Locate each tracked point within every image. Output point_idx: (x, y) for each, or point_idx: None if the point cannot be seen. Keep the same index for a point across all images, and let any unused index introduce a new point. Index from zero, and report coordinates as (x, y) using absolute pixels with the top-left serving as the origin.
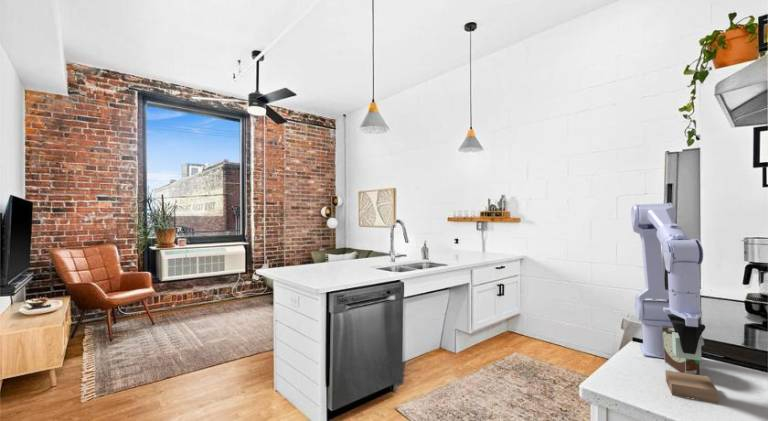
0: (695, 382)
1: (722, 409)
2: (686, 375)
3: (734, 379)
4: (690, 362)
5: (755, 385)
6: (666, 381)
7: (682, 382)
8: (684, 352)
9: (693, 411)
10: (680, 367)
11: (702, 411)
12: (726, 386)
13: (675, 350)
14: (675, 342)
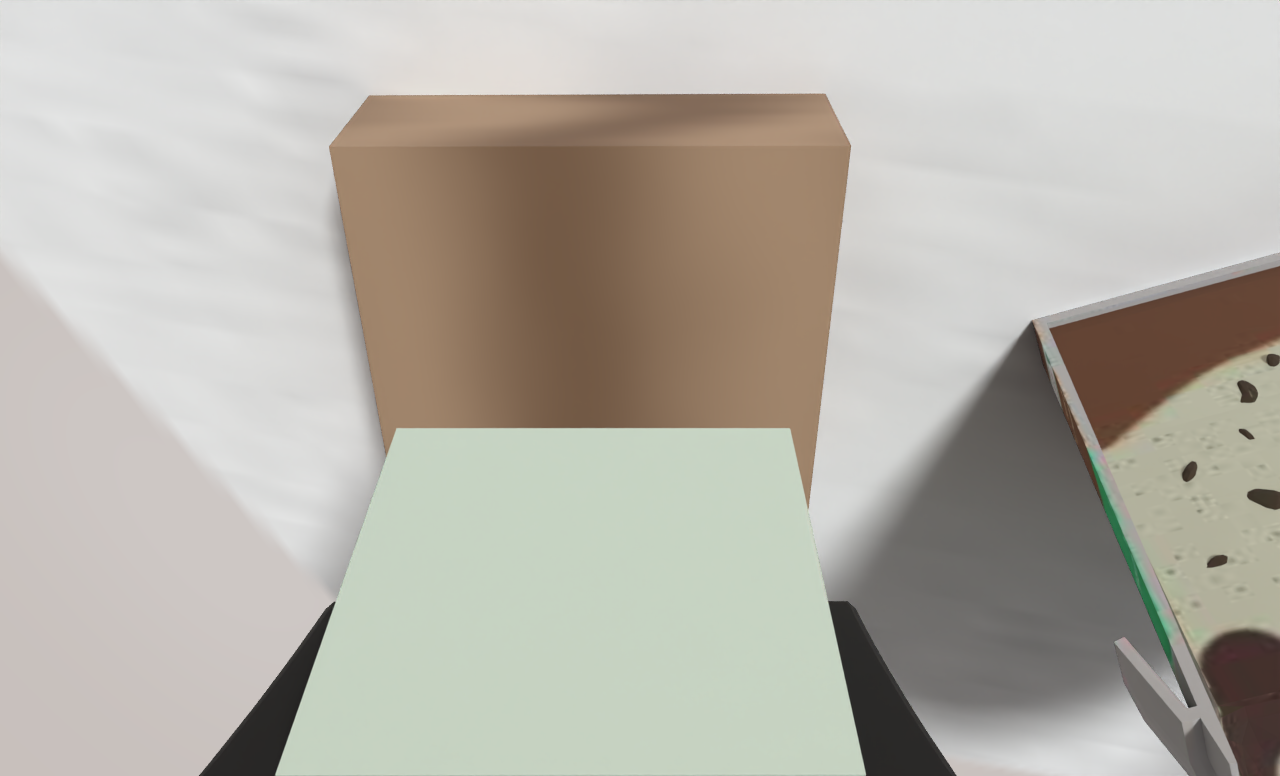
0: (540, 403)
1: (295, 456)
2: (743, 356)
3: (1081, 658)
4: (1095, 484)
5: (981, 738)
6: (786, 96)
7: (457, 277)
8: (323, 618)
9: (50, 232)
10: (1176, 332)
11: (117, 306)
12: (882, 580)
13: (425, 507)
14: (322, 659)
